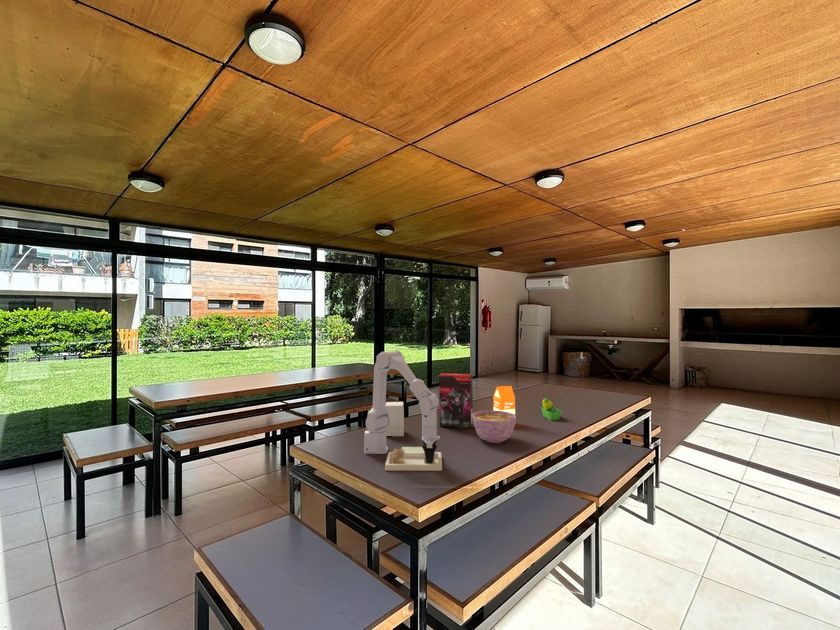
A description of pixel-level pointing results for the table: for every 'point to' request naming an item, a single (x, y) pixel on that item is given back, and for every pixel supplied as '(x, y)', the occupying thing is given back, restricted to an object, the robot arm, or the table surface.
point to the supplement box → (395, 419)
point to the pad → (413, 449)
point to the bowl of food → (494, 425)
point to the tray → (413, 462)
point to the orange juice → (504, 399)
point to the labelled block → (429, 463)
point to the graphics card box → (456, 400)
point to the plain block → (398, 456)
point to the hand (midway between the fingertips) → (429, 460)
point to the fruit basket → (550, 410)
